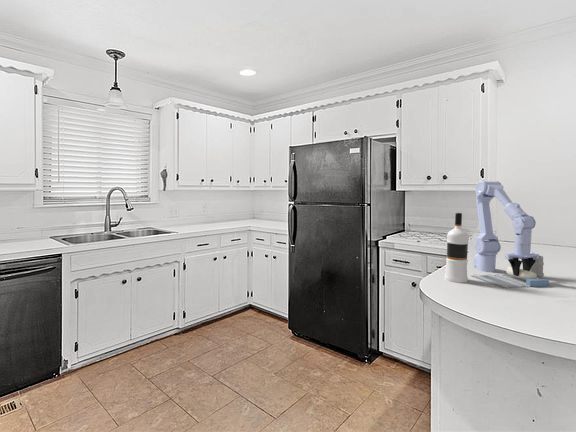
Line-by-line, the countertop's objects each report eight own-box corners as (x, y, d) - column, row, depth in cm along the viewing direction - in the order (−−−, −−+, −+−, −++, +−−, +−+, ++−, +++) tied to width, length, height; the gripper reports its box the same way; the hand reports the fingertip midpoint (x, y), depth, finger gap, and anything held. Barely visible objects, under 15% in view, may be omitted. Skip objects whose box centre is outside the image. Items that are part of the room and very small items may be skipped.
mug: (544, 276, 160) (546, 251, 159) (541, 281, 151) (543, 254, 150) (524, 274, 165) (526, 249, 164) (521, 278, 156) (522, 252, 155)
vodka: (439, 280, 153) (442, 212, 151) (455, 278, 156) (458, 212, 154) (456, 285, 144) (459, 213, 142) (472, 283, 147) (476, 213, 145)
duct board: (470, 277, 157) (470, 270, 157) (513, 276, 160) (514, 269, 160) (503, 290, 138) (503, 281, 137) (552, 288, 141) (552, 280, 140)
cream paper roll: (505, 274, 155) (506, 266, 155) (514, 275, 156) (514, 266, 155) (527, 282, 143) (528, 272, 143) (536, 282, 144) (537, 272, 144)
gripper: (514, 245, 144) (512, 278, 145) (545, 245, 146) (543, 277, 147) (501, 243, 151) (500, 274, 152) (531, 242, 152) (530, 273, 154)
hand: (520, 275), depth 150 cm, fingers closed on cream paper roll, 4 cm apart
